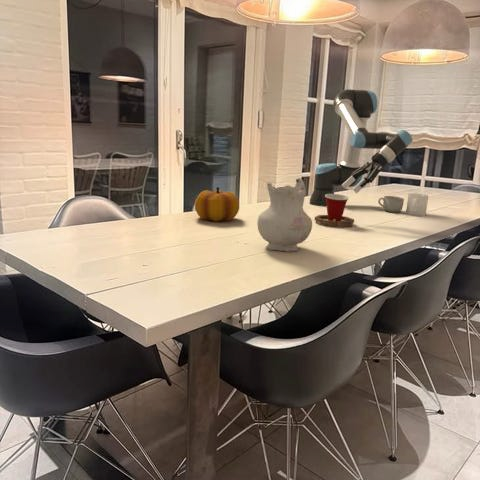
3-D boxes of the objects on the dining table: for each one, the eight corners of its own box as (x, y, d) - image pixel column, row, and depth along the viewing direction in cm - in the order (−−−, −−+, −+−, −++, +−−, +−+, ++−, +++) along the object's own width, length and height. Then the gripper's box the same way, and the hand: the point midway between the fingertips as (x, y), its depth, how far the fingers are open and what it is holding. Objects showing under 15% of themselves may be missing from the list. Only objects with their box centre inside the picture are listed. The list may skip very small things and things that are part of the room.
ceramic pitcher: (270, 240, 188) (269, 177, 183) (319, 243, 181) (319, 177, 175) (250, 253, 168) (248, 182, 163) (304, 257, 161) (304, 183, 156)
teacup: (400, 210, 269) (401, 196, 267) (404, 214, 259) (406, 199, 257) (374, 209, 271) (376, 195, 269) (378, 212, 260) (380, 197, 258)
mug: (423, 217, 251) (426, 197, 249) (403, 215, 255) (406, 195, 253) (426, 213, 263) (429, 194, 260) (407, 211, 267) (409, 192, 265)
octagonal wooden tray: (309, 220, 227) (309, 213, 226) (340, 219, 233) (341, 212, 232) (326, 228, 212) (327, 220, 211) (359, 227, 217) (360, 219, 216)
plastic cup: (327, 223, 216) (329, 197, 213) (319, 218, 226) (321, 193, 223) (350, 223, 218) (352, 197, 215) (341, 219, 228) (343, 194, 225)
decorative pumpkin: (248, 222, 217) (250, 189, 214) (205, 225, 206) (206, 190, 202) (226, 214, 234) (228, 183, 230) (185, 216, 222) (186, 184, 219)
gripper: (400, 166, 211) (364, 199, 212) (376, 161, 235) (344, 191, 236) (390, 153, 209) (354, 186, 210) (367, 150, 233) (334, 180, 234)
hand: (348, 189), depth 223 cm, fingers open, 13 cm apart
